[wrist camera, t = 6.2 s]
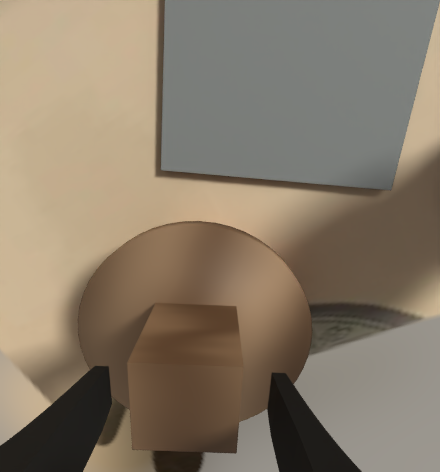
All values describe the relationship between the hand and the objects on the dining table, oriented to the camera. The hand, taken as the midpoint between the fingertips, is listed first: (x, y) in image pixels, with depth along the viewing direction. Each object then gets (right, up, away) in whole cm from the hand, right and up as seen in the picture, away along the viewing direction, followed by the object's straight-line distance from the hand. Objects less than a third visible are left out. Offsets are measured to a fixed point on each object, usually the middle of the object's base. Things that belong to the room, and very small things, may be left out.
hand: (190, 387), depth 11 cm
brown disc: (0, +2, +3) cm, 3 cm away
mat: (+5, +17, +3) cm, 18 cm away
